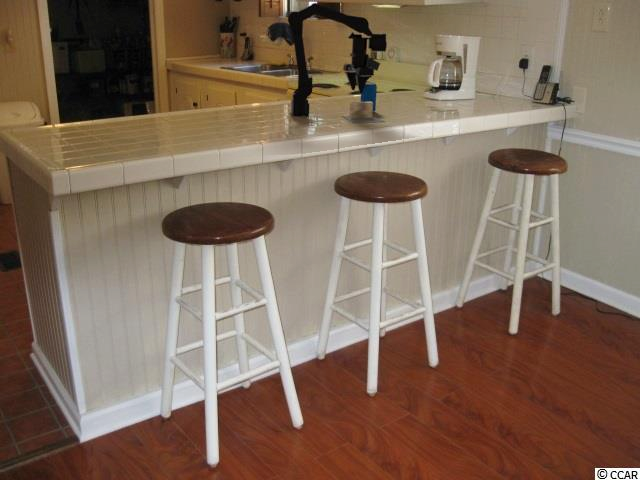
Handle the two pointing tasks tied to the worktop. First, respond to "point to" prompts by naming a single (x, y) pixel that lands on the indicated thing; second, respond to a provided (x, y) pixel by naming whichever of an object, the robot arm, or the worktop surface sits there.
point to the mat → (363, 119)
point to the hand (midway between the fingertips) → (357, 91)
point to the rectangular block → (361, 109)
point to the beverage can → (369, 94)
